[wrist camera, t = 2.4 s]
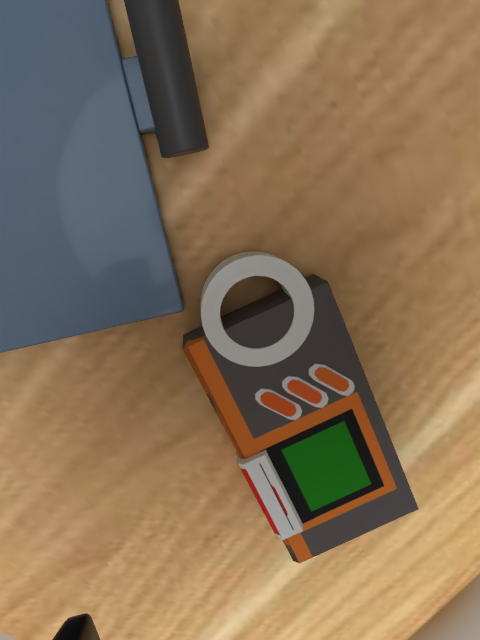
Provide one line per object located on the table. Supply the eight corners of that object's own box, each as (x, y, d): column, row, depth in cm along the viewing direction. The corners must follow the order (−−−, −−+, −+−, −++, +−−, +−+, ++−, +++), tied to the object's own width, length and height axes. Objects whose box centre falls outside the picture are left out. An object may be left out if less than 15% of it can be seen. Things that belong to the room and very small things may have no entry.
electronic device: (308, 227, 17) (424, 519, 21) (291, 224, 19) (396, 482, 23) (150, 301, 17) (296, 578, 21) (156, 288, 20) (283, 533, 24)
